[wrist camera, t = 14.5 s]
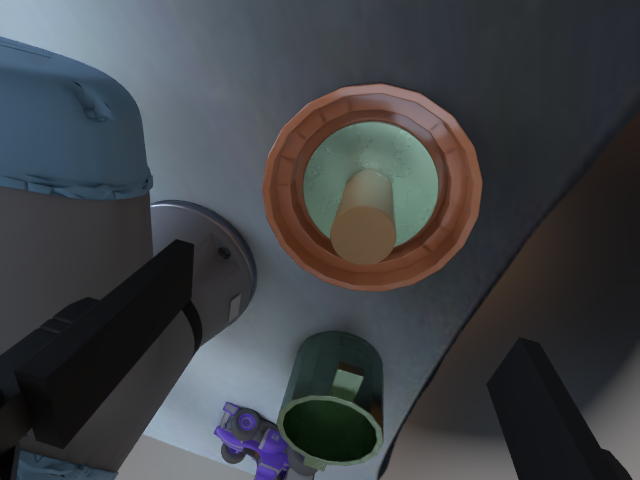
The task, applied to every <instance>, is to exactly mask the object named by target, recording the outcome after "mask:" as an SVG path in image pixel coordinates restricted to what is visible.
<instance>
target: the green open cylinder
mask: <svg viewBox="0 0 640 480" xmlns="http://www.w3.org/2000/svg"><path fill="white" fill-rule="evenodd" d="M277 426H278V429H279V432H280V435H281V437H282V438H283V439H284V440H285V441H286V443H287V444H288V445H289V446H290V447H291V448H292V449H293V450H295V451H297V452H298V453H300V454H302V455H303V456H304V460H303V465H305V466H308V467H311V468H315V469H318V470H321V471H324V469H325V467H326V465H327V464H329V465H342V466H348V465H353V464H359V463H363V462H366V461H367V460H369V459H371V458H372V457H374V456H376V455H377V454H378V452H379V450H380V448H381V446H382V444H383V364H382V360H381V358H380V356H379V354H378V352H377V351H376V350H375V348H374V347H373V346H371V345H370V344H369V343H368V342H367V341H365V340H363V339H362V338H360V337H357V336H355V335H352V334H349V333H345V332H336V331H331V332H323V333H319V334H316V335H314V336H312V337H310V338H308V339H307V340H306V341H305V342H304V343H303V344H302V345H301V347H300V348H299V350H298V353H297V357H296V360H295V363H294V366H293V370H292V373H291V376H290V379H289V383H288V386H287V389H286V392H285V396H284V399H283V402H282V405H281V409H280V412H279V416H278V420H277Z"/></svg>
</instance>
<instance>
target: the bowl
mask: <svg viewBox="0 0 640 480" xmlns="http://www.w3.org/2000/svg"><path fill="white" fill-rule="evenodd" d="M363 121H381V122H386V123H391V124H394V125H396V126H399V127H401V128H403V129H405V130H407V131H409V132H410V133H411V134H413V135H414V136H416V137H417V138H418V139H419V140H420V141H421V142H422V143H423V145H424V146H425V147H426V148H427V150H428V151H429V153H430V155H431V157H432V158H433V160H434V163H435V166H436V168H437V173H438V178H439V194H438V199H437V204H436V206H435V209H434V212H433V214H432V216H431V217H430V219H429V221H428V222H427V223H426V225H425V226H424V227H423V228H422V230H421V231H420V232H419V233H418V234H416V235H415V236H414V237H413V238H411V239H410V240H408V241H407V242H405V243H403V244H401V245H399V246H397V247H394V248H393V250H392V252H391V253H390V254H389V255H388V256H387V257H386V258H385V259H383V260H382V261H380V262H378V263H375V264H371V265H357V264H353V263H350V262H348V261H346V260H344V259H343V258H342V257H340V256H339V255H338V254H337V252H336V251H335V250H334V248H333V246H332V243H331V240H330V239H329V238H328V237H326V236H325V235H324V234H323V233H322V232H321V231H320V230H319V229H318V228H317V227H316V225H315V224H314V222H313V221H312V219H311V218H310V216H309V214H308V211H307V209H306V206H305V202H304V198H303V178H304V172H305V169H306V166H307V163H308V161H309V159H310V157H311V155H312V154H313V152H314V151H315V149H316V148H317V147H318V146H319V145H320V143H321V142H322V141H323V140H324V139H326V138H327V137H328V136H329V135H331V134H332V133H333V132H335V131H336V130H338V129H340V128H342V127H344V126H347V125H350V124H353V123H358V122H363ZM482 185H483V181H482V177H481V172H480V168H479V164H478V159H477V155H476V151H475V148H474V145H473V144H472V142H471V141H470V139H469V138H468V137H467V135H466V134H465V132H464V131H463V129H462V128H461V126H460V125H459V123H458V122H457V120H456V119H455V117H454V116H453V115H452V114H450V113H449V112H447V111H446V110H444V109H443V108H442V107H440V106H439V105H437V104H436V103H434V102H433V101H431V100H430V99H429V98H427V97H426V96H424V95H423V94H421V93H419V92H417V91H415V90H411V89H407V88H404V87H400V86H396V85H392V84H388V83H384V82H383V83H382V82H379V83H368V84H357V85H349V86H345V87H342V88H340V89H338V90H336V91H333V92H331V93H329V94H327V95H325V96H323V97H320V98H318V99H316V100H314V101H312V102H309V103H308V104H307V105H306V106H305V107H304V108H303V109H302V110H301V111H300V112H298V113H297V114H296V115H295V116H294V117H293V118H292V119H291V120H290V121H289V122H288V123H287V124H286V125H285V126H284V127H283V128H282V130H281V132H280V134H279V136H278V137H277V139H276V141H275V143H274V145H273V147H272V149H271V151H270V153H269V155H268V157H267V161H266V168H265V174H264V181H263V188H262V192H263V197H264V203H265V209H266V215H267V220H268V222H269V224H270V226H271V228H272V230H273V232H274V234H275V236H276V238H277V240H278V242H279V244H280V246H281V247H282V248H283V249H284V250H285V251H286V252H287V254H288V255H289V256H290V257H291V258H292V259H293V260H294V261H295V262H296V263H297V264H298V265H299V266H300V267H301V268H303V269H304V270H306V271H307V272H309V273H311V274H312V275H314V276H316V277H317V278H319V279H321V280H322V281H324V282H326V283H329V284H333V285H336V286H339V287H343V288H346V289H350V290H354V291H387V290H392V289H396V288H400V287H404V286H408V285H412V284H415V283H417V282H418V281H420V280H422V279H424V278H426V277H427V276H429V275H431V274H433V273H435V272H436V271H438V270H440V269H441V268H442V267H443V266H444V265H445V264H446V263H447V262H448V261H449V260H450V259H451V258H452V257H453V256H454V255H455V254H456V253H457V252H458V251H459V250H460V249H461V248H462V247H463V246H464V244H465V242H466V240H467V238H468V236H469V234H470V232H471V230H472V228H473V226H474V224H475V222H476V220H477V218H478V215H479V208H480V200H481V192H482Z"/></svg>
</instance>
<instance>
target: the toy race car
mask: <svg viewBox="0 0 640 480" xmlns="http://www.w3.org/2000/svg"><path fill="white" fill-rule="evenodd" d="M223 410H225V411H226V412H225V415H224V417H223V420H222V422H221V425H220V426H218V427H217V428H216V429H215V431H214V434H215V435H216V436H218V437H219V438H220V439H221V440H222V441H223V445H222V448H221V454H222V457H223V459H224V460H225V461H226V462H228V463H230V464H236V463H239V462H241V461H242V460H243V459H244V457H245V455H246V454H248V455H249V456H251V457H252V459H253V460H255V461H256V463H257V470H256V475H255V479H254V480H314V475H315V472H316V471H317V470H318V469H315V468H311V467H308V466H305V465H303V460H304V456H303V455H302V454H300V453H298V452H297V451H295V450H293V449H292V448H291V447H290V446H289V445H288V444H287V443H286V441H285V440H284V439H283V438H282V437H281V435H280V432H279V429H278V427H277V426H275V425H273V424H271V423H269V422H267V421H264V420H262V419H260V418H259V416H258V414H257V413H256V412H255V411H253V410H251V409H242V410H240V411H238V410H239V407H236V406H234V405H232V404H230V403H226V404H225V406H224V408H223ZM237 411H238V412H237ZM235 414H236V415H235ZM230 415H231V416H233V417H234V419H233V421H232V424H231V430H228V429H226V424H227V422H228V419H229V417H230Z"/></svg>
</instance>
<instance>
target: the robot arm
mask: <svg viewBox="0 0 640 480" xmlns="http://www.w3.org/2000/svg"><path fill="white" fill-rule="evenodd" d="M152 187H153V176H152V175H151V173H150V169H149V167H148V166H147V159H146V151H145V142H144V134H143V126H142V119H141V115H140V111H139V109H138V106H137V104H136V102H135V100H134V99H133V98H132V96H131V95H130V93H129V92H128V91H127V90H126V89H125V88H124V87H123V86H122V85H121V84H120V83H118V82H117V81H116V80H115V79H113V78H112V77H110V76H109V75H107V74H105V73H103V72H102V71H100V70H98V69H95V68H93V67H91V66H89V65H86V64H84V63H81V62H79V61H76V60H74V59H71V58H68V57H65V56H62V55H59V54H56V53H53V52H50V51H47V50H44V49H41V48H38V47H34V46H31V45H28V44H24V43H21V42H17V41H14V40H11V39H7V38H4V37H0V480H114V479H115V478H116V476H117V475H118V472H117V471H118V469H119V468H120V467H121V465H122V464H123V462H124V460H125V459H126V457H127V456H128V454H129V453H130V451H131V450H132V448H133V447H134V445H135V444H136V442H137V441H138V439H139V438H140V436H141V435H142V433H143V432H144V430H145V429H146V427H147V426H148V424H149V423H150V421H151V420H152V418H153V417H154V415H155V414H156V412H157V411H158V409H159V408H160V406H161V405H162V403H163V402H164V400H165V398H166V397H167V395H168V394H169V392H170V391H171V389H172V388H173V386H174V385H175V383H176V382H177V380H178V379H179V377H180V376H181V374H182V373H183V371H184V370H185V368H186V367H187V365H188V364H189V362H190V361H191V359H192V357H193V356H194V354H195V353H196V351H197V350H198V349H199V347H200V346H202V345H203V344H204V343H206V342H207V341H209V340H210V339H211V338H213V337H214V336H215V335H217V334H218V333H220V332H221V331H222V330H224V329H225V328H226V327H228V326H229V325H231V324H232V323H233V322H234V321H236V320H237V319H238V318H239V317H240V315H241V314H242V313H243V312H244V311H245V309H246V308H247V306H248V304H249V303H250V301H251V299H252V297H253V295H254V292H255V288H256V281H257V276H256V267H255V263H254V260H253V257H252V254H251V252H250V250H249V248H248V246H247V245H246V243H245V241H244V240H243V238H242V237H241V236H240V235H239V233H238V232H237V231H236V230H235V229H234V228H233V227H232V226H231V225H230V224H229V223H228V222H227V221H225V220H224V219H223V218H221V217H220V216H219V215H217V214H216V213H214V212H212V211H210V210H208V209H207V208H204V207H202V206H200V205H197V204H194V203H190V202H186V201H179V200H164V201H159V202H155V203H152V204H150V195H149V190H150V189H151V188H152ZM487 387H488V390H489V393H490V396H491V399H492V402H493V405H494V408H495V411H496V414H497V417H498V419H499V423H500V426H501V428H502V431H503V434H504V437H505V440H506V443H507V446H508V449H509V452H510V455H511V458H512V461H513V464H514V467H515V470H516V472H517V476H518V479H519V480H632V478H631V477H630V475H629V473H628V472H627V470H626V469H625V468H624V467H623V466H622V465H621V464H620V462H619V461H618V460H617V459H616V458H615V457H614V456H613V455H612V454H611V452H610V451H607V450H605V449H601V448H600V446H599V444H598V442H597V441H596V439H595V437H594V436H593V434H592V432H591V430H590V429H589V427H588V425H587V424H586V422H585V420H584V419H583V417H582V415H581V413H580V411H579V410H578V408H577V406H576V405H575V403H574V401H573V400H572V398H571V396H570V395H569V393H568V391H567V390H566V388H565V386H564V384H563V383H562V381H561V379H560V377H559V376H558V374H557V372H556V371H555V369H554V367H553V366H552V364H551V362H550V360H549V359H548V357H547V355H546V354H545V352H544V350H543V349H542V347H541V345H540V343H538V342H534V341H531V340H527V339H524V338H520V337H519V339H518V340H517V341H516V343H515V344H514V346H513V347H512V349H511V350H510V351H509V353H508V354H507V356H506V357H505V359H504V360H503V362H502V363H501V364H500V366H499V367H498V368H497V370H496V371H495V373H494V374H493V376H492V377H491V378H490V380H489V381H488V383H487Z"/></svg>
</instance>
